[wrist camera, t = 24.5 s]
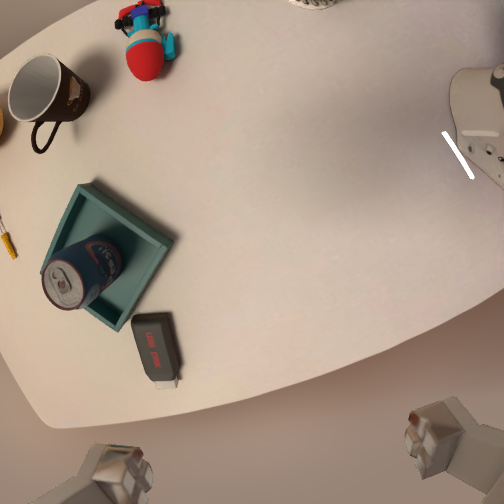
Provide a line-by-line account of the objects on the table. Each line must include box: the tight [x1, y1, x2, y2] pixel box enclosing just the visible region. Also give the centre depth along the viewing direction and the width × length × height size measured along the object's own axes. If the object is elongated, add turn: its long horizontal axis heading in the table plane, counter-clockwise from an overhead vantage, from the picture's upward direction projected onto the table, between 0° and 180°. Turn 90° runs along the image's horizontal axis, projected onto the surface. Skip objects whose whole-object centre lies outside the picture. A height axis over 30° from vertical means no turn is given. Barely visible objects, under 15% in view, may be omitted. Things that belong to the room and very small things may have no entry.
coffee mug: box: [8, 53, 90, 154], centre depth 31 cm, size 12×9×10 cm
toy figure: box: [115, 0, 175, 81], centre depth 32 cm, size 8×5×15 cm
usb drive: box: [131, 313, 180, 389], centre depth 43 cm, size 5×12×3 cm, turn 6°
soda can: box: [42, 234, 124, 311], centre depth 35 cm, size 7×7×12 cm
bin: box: [40, 183, 174, 332], centre depth 39 cm, size 15×15×4 cm
